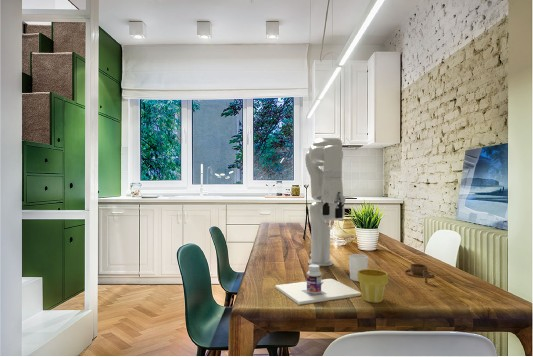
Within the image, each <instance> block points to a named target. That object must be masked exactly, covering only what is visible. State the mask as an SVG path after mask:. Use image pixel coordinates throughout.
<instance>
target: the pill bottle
mask: <svg viewBox="0 0 533 357" xmlns="http://www.w3.org/2000/svg"><path fill="white" fill-rule="evenodd" d="M320 268H321V266H319V265H314V264H312V265H310V264H309V265H308V271H306V282H307V292H308V293H311V294H319V293H321V280H322V272H321V270H320Z"/></svg>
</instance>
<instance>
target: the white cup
mask: <svg viewBox="0 0 533 357" xmlns="http://www.w3.org/2000/svg"><path fill="white" fill-rule="evenodd" d="M368 258H369V256H368V255H366V254H360V253H359V254H357V253H351V254H349V255H348V268H349V269H348V270H349V279H350V280H351V281H354V282H359V281H358V271H359V270H362V269H368V263H369V262H368V261H369V260H368Z"/></svg>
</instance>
